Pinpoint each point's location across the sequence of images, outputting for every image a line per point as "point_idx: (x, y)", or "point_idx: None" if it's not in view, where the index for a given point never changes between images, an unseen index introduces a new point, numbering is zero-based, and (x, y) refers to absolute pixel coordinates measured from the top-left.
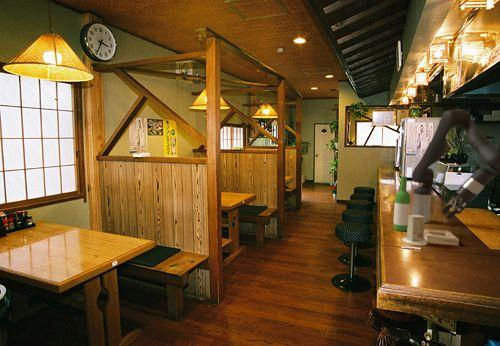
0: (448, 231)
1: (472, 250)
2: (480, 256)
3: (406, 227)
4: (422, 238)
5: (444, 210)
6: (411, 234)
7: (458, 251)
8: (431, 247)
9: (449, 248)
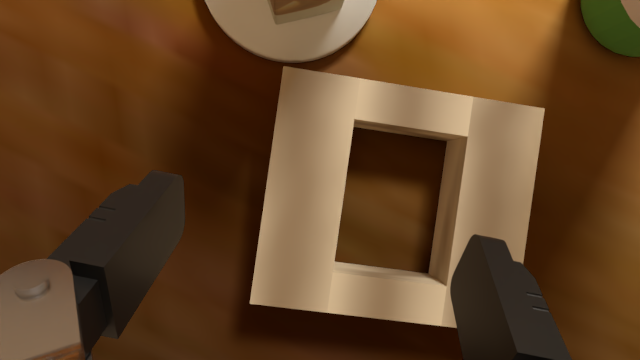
0: None
1: (145, 336)
2: None
3: (605, 14)
4: (272, 10)
5: (475, 279)
6: None
7: None
8: (173, 52)
9: None
